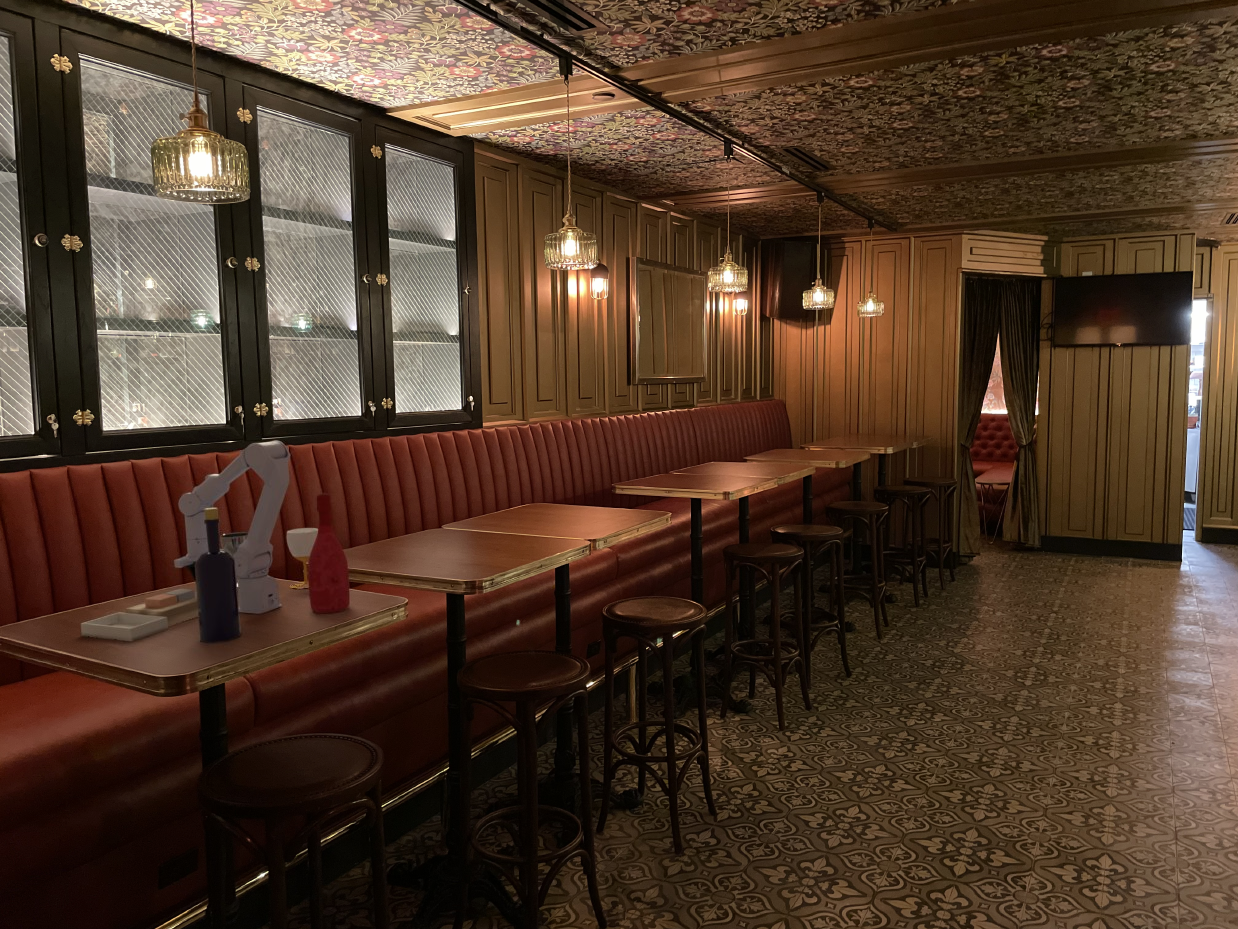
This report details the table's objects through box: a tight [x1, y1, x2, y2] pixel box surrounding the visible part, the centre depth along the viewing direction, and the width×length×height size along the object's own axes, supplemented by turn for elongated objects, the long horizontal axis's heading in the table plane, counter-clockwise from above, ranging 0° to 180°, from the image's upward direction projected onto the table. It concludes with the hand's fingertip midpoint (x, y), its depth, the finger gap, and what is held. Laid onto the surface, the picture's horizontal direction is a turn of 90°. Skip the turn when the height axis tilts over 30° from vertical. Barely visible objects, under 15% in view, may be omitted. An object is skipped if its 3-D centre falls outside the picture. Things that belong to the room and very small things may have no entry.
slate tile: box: [163, 588, 196, 602], centre depth 221 cm, size 5×5×2 cm
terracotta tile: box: [144, 593, 177, 608], centre depth 216 cm, size 5×5×2 cm
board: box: [125, 595, 199, 627], centre depth 218 cm, size 12×14×4 cm
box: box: [80, 611, 169, 642], centre depth 206 cm, size 16×10×3 cm, turn 69°
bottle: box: [195, 507, 242, 644], centre depth 199 cm, size 9×9×30 cm
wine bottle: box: [307, 492, 351, 614], centre depth 221 cm, size 10×10×30 cm
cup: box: [286, 527, 318, 590], centre depth 249 cm, size 9×9×16 cm
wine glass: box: [219, 531, 249, 587], centre depth 252 cm, size 8×8×15 cm
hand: (202, 589), depth 228 cm, fingers closed
